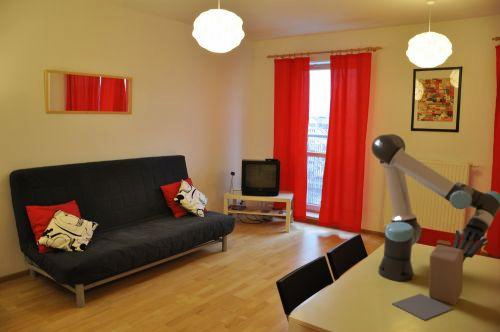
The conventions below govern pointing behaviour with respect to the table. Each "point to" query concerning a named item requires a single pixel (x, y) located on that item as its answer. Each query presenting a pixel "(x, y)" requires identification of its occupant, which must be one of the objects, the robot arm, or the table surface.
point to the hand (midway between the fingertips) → (453, 267)
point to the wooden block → (446, 274)
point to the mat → (422, 306)
